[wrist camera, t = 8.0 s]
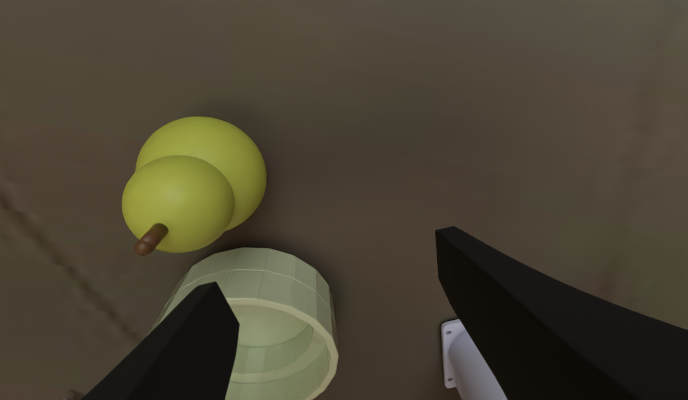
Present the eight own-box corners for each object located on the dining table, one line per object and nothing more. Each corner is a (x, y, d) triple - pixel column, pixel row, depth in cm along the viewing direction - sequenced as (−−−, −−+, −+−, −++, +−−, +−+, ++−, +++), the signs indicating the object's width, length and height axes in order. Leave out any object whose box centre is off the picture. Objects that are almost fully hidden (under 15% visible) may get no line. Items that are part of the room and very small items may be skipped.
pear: (285, 189, 18) (263, 298, 10) (197, 209, 18) (102, 335, 10) (254, 96, 15) (191, 140, 7) (152, 119, 15) (-29, 189, 7)
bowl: (345, 336, 24) (352, 398, 20) (215, 365, 24) (194, 434, 20) (312, 226, 19) (312, 277, 15) (147, 264, 19) (97, 326, 15)
